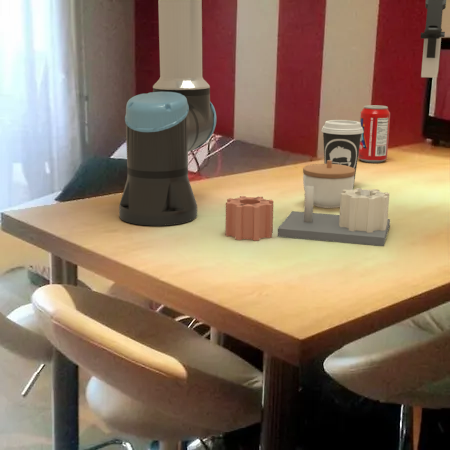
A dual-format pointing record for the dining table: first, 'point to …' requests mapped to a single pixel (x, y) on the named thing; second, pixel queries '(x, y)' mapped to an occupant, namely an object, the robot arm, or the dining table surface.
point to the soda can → (374, 133)
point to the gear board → (342, 219)
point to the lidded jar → (328, 182)
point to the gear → (249, 218)
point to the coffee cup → (342, 142)
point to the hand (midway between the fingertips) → (429, 74)
